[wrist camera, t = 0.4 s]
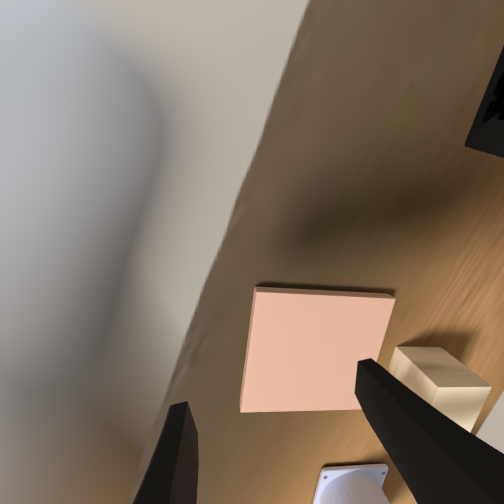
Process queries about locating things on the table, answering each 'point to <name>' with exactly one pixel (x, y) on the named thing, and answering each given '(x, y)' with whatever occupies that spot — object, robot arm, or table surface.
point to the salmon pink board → (310, 347)
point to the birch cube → (441, 382)
